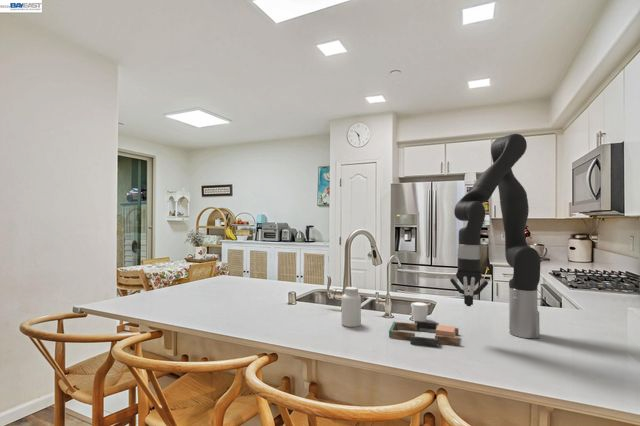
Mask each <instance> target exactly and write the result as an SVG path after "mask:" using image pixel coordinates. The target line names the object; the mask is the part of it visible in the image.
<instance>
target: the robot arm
mask: <svg viewBox="0 0 640 426" xmlns="http://www.w3.org/2000/svg"><path fill="white" fill-rule="evenodd" d="M527 147H528V142H527V140H526V138H525V137H524V136H523V135H522V134H519V133H511V134H508V135H504V136H503V137H499V138H497V139H495V140H493V141H492V143H491V146H490V155H491V159H492V164H491V165H490V166H489V167H487V169H486V170H484V171H483V173H481V174H480V175H479V176H478V178H477V180H476V181H475V182H474V184H473V186H471V189H470V190H469V191H467V193H466V194H464V195H463V196H462V198H460V199H459V201H458V202H457V203H456V204H455V206H454V211H453V213H454V216H455V218H456V220H458V221H461V222H467V224H466V226H465V227H461V228H460V229H459V230H458V247H457V270H456V273H455V275H454V276H453V277H451V278H450V279H449V280H450V282H451V284H452V285H453V287H455V289H456V290H457V292H459V294H461V295H463V296H464V297H463V298H464V299H463V301H464V302H463V303H464V305H466V307H471V306H473V304H474V296H477V295H479V294H481V292H482V291H483V290H484V289H485V288H486V287H487V286H488V284H489V282H488V280H486V279H485V278H483V276H482V274H481V258H482V255H481V232H482V228H483V225H484V221H485V217H486V208H485V206H484V203H486V202H488V201H489V200H490V198H491V197H492V195H493V193H494V192H495V190H496V189H497V188H498V189H497V190H498V194H499V203H500V210H501V218H502V223H503V224H502V225H503V230H504V251H505V252H504V255H505V260H506V262H507V264H508V265H509V266H510V267H512V268H513V273H512V275H513V276H512V278H510V279H509V281H508V296H509V297H508V301H509V302H508V303H509V304H508V310H509V313H508V314H509V315H508V316H509V318H508V319H509V320H508V321H509V324H508V325H509V326H508V327H509V334H511V335H512V336H515V337H517V338H518V337H519V338H523V339H540V338H541V337H540V336H541V334H540V330H541V329H540V311H539V310H538V309H539V308H538V306H539V305H538V303H539V301H538V300H539V299H538V286H539V283H540V280H541V256H540V254H539V252H538V251H537V250H536V249H535V248H534V247H531V246H528V244H527V239H526V227H527V226H526V225H527V222H528V219H529V218H528V217H529V211H530V210H529V209H530V208H529V200H528V194H527V191H526V189H525V187H524V186H523V185H522V183H520V181H519V180H518V179H517V178H516V176H515V174H514V172H513V167H514V166H515V164H516V163H517V162H519V160H520V159H521V158H522V157H523V156H524V154H525V153H526V151H527ZM458 281H459V282H460V284H461V285H462V286H463V289H462V288H461V285H459V284H458ZM478 283H479V286H478V287H477V288H476V289H475V286H477V285H478ZM468 286H469V287H468ZM468 288H469V289H468ZM468 291H469V292H468Z"/></svg>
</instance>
